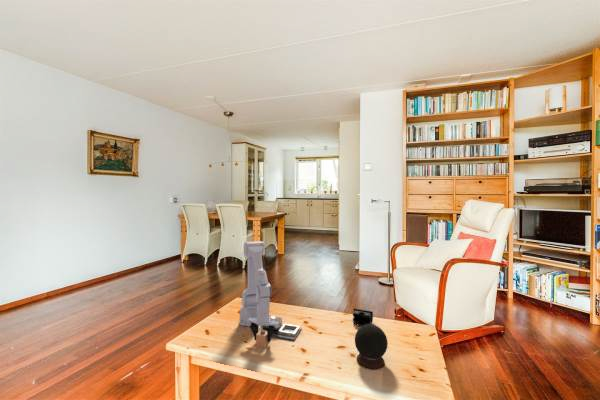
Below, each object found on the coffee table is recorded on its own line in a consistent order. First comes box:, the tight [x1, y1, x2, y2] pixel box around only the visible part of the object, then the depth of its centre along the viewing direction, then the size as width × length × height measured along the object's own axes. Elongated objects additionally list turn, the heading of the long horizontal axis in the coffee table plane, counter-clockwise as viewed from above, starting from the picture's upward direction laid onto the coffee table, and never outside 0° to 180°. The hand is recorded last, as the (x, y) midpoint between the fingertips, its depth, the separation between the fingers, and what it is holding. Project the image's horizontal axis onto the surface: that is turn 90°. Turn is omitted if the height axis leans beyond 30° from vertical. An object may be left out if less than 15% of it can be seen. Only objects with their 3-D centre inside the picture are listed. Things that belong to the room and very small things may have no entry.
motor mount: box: [258, 315, 303, 342], centre depth 143 cm, size 20×12×7 cm, turn 73°
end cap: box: [352, 307, 374, 326], centre depth 155 cm, size 10×7×7 cm
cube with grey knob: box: [255, 330, 269, 348], centre depth 132 cm, size 4×4×6 cm
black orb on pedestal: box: [354, 323, 389, 371], centre depth 119 cm, size 13×13×15 cm
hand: (262, 340), depth 132 cm, fingers open, 6 cm apart
